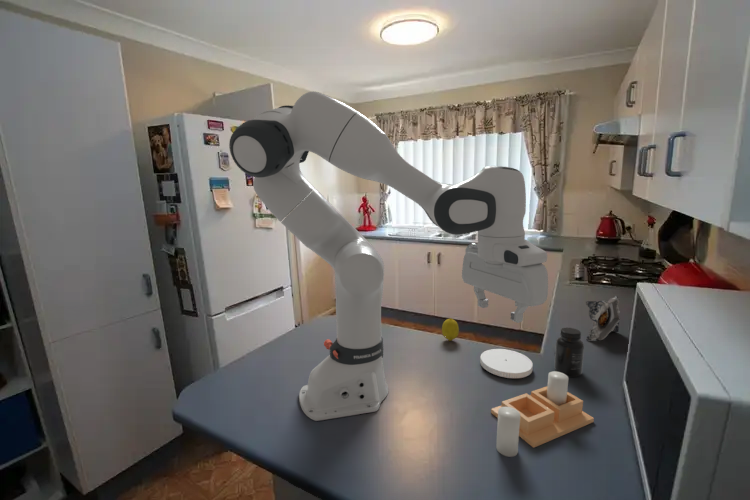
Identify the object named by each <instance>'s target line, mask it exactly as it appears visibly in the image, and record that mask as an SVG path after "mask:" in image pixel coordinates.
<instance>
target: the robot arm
mask: <svg viewBox="0 0 750 500" xmlns="http://www.w3.org/2000/svg"><path fill="white" fill-rule="evenodd" d="M228 144H229V145H228V146H229V152H230V155H231V158H232V160H233V163H235V165H236V166H237V167H238V169H240V171H241V172H243V173H244V174H246V175H248V176H250V177H253V178H254V179H253V183H252V184H253V185H252V186H253V190H254V191H255V194H256V195H257V196H258V198H259V199H260V200H261V202H262V203H263V204H264V206H265V207H266V208H267V209H268V210H269V212H270V213H271V214H272V216H274V217H275V218H276V219H277V220H278V221H279V222H280V223H281V224H282V225H283V226H284V227H285V228H286V229H287V230H288V231H289V232H290V233H291V234H292V235H294V237H296V239H298V240H299V242H301V243H302V244H303V246H305V247H306V248H308V249H309V250H310V251H312V252H313V253H315V254H316V255H318V256H319V257H320V258H321V259H322V260H323V261H325V263H327V264H328V265H330V267H332V269H333V270H334V281H335V282H334V284H335V285H334V286H335V287H334V288H335V319H336V321H335V322H336V325H335V326H336V338H335V340H334V342H332V340H331V339H329V338H328V339H325V340H324V342H323V346H324V347H325V348H326V350H328V351H329V355H327V356H326V357H325V358H324V359H323V360H322V361H321V362H319V363H318V364H317V365H316V366H315V367H314V368H313V369H312V370H311V371H310V373H309V375H308V381H307V384H306V385H305V384H304V385H303V386H302V387H301V389H300V390H299V395H298V400H299V405H300V407H301V410H302V411H303V413H304V414H305V415H306V417H308V418H309V419H311V420H313V421H315V422H317V421H318V422H319V421H324V420H331V419H332V420H333V419H337V418H344V417H350V416H356V415H360V414H361V415H362V414H366V413H374V412H377V411H378V410H379V409H380V407H381V404H382V402H383V401H384V399H385V398H387V396H388V394H389V386H388V384H387V380H386V377H385V371H384V364H383V358H384V338H383V337H382V303H383V302H382V301H383V295H384V293H383V292H384V279H385V278H384V277H385V265H384V261H383V258H382V257H381V255H380V254H379V252H378V251H377V250H376V249H375V247H374V246H373V245H372V244H371V243H370V241H368V239H366V237H364V236H363V235H362V234H361V233H360V231H358V230H357V229H356V227H354V226H353V224H351V223H350V221H349V220H348V219H347V218H346V217H344V216H343V214H341V213H340V212H339V211H338V210H337V209H336V208H335V206H333V204H332V203H330V201H329V200H328V199H327V198H326V197H325V196H324V195H323V194H322V193H321V192H320V191H319V190H318V189H317V188H316V187H315V186H314V185H313V184H312V183H311V182H310V181H309V180H308V179H307V178H306V177H305V175H304V174H303V172H302V171H301V169H300V168H301V167H300V163H304V162H306V160H307V157H308V155H309V153H310V152H311V153H313V154H315V155H317V156H319V157H320V158H322V159H323V160H325V161H326V162H328V163H330V164H331V165H332V166H334V167H336V168H338V169H339V170H342V171H344V172H345V173H348V174H350V175H353V176H355V177H357V178H360V179H362V180H367V181H372V182H376V183H381V184H382V185H385V186H388V187H390V188H392V189H394V190H395V191H397V192H398V193H401V194H402V195H403V196H405V197H407V198H408V199H410V200H411V201H413V202H414V203H416V204H417V205H418V206H420V207H421V209H423V211H424V212H425V214H426V216H427V217H428V219H429V220H430V221H431V222H432V223H433V225H435V226H437V228H440V230H442V231H443V232H445V233H447V234H448V235H449V234H450V235H454V236H461V235H465V234H470V233H471V234H472V233H476V232H477V243H474V242H471V243H469V245H467V246H466V247H465V254H464V256H463V260H462V261H463V262H462V269H461V277H462V278H461V279H462V281H463V283H465V284H467V285H469V286H472V287H473V291H474V294H475V296H476V299H477V306H478V307H479V308H482V309H485V308H488V307H489V301H490V300H489V298H486V297H487V296H486V293H485V291H487V292H489V293H492V294H494V295H498V296H501V297H503V298H506V299H509V300H512V301H514V306H515V307H516V309H515V311H510V321H512V322H515V323H516V324H517V323H522V322H523V320H524V313H525V312H526V311H527V309H528V307H530V308H531V307H537V306H540V305H543V304H544V303H546V301H547V300H548V295H549V273H548V270H547V267H546V266H545V265H544V264H543V263H546V262H547V260H548V252H547V251H545V250H544V249H542V248H541V247H539V246H537V245H535V244H533V243H532V242H530V241H529V240H528V239H525V235H526V233H525V231H526V230H525V227H524V219H525V215H526V211H527V210H526V209H527V204H526V203H527V194H526V193H527V192H526V182H525V178H524V175H523V173H522V172H521V171H520V170H519V169H517V168H513V167H510V166H502V165H497V166H496V165H488V166H484V167H483V168H482V169H481V170H480V171H479V172H476V173H475V174H474V175H472V176H470V177H468V178H466V179H464V180H463V181H460V182H458V183H455V184H450V183H449V184H448V183H443V182H439V181H436V180H435V179H433V178H432V177H430V176H428V175H427V174H426V173H424V172H422V171H421V170H419V169H418V168H417V167H415V166H413V165H411V164H410V163H409V162H407V161H406V160H405V158H404V157H402V155H400V153H399V152H398V151H397V149H396V147H394V144H393V143H392V141H391V140H390V138H389V137H388V135H387V134H386V133H385V132H384V131H383V130H382V129H381V128H380V127H379V125H376V123H374V122H373V121H372V119H371V120H370V118H367V117H366V116H365V115H364V114H362V113H361V112H359V111H357V110H356V109H354V108H352V107H351V106H350V105H347V104H346V103H344V102H342V101H340V100H338V99H335V98H334V97H331V96H328V95H326V94H324V93H322V92H318V91H308V92H306V93H304V94H302V95H301V96H300V97H298V99H297V100H296V101H295V103H294V105H289V104H288V105H281V106H279V107H277V108H273V109H269V110H265V111H263V112H260V114H258V115H257V116H255V117H253V118H251V119H249V120H247V121H244V122H242V123H241V124H239V126H238V127H237V128H236V129H235V130H233V133H232V134H231V136H230V138H229V143H228Z"/></svg>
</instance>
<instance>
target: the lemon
mask: <svg viewBox="0 0 750 500" xmlns="http://www.w3.org/2000/svg"><path fill="white" fill-rule="evenodd" d="M459 330H460V327H459V323H458V322H457V321H456V320H455V319H453V318H452V317H451V318H447V319H446V320H445V321H443V323H442V326H441V333H442V336H443V337H444V338H445V339H446V340H448V341H449V342H450V341H453V340H455V339H457V337H458V335H459V333H460V331H459ZM445 336H446V337H445Z"/></svg>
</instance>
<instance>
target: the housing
mask: <svg viewBox="0 0 750 500" xmlns="http://www.w3.org/2000/svg"><path fill="white" fill-rule="evenodd" d="M547 375H548V376H547V385H546V386H543V387H540V388H538V389H534V390H531V392H530V394H528V393H527V392H525V393H523V394H520V395H517V396H514V397H511V398H509V399H506V400H502V401H501V405H499V406H495V407H492V408H491V409H490V413H491V414H492V415H493V416H494V417H496V418H497V419H498V410H499V408H501V407H511V408H514V409H516V410H517V411H518V412H519V413H520V427H519V438H521V439H522V440H523V441H524V442H526V443H527V444H528V445H530V446H531V447H532V448H533V449H534V448H536V447H539V446H542V445H543V444H545V443H548V442H551V441H553V440H555V439H557V438H560V437H563V436H564V435H567V434H569V433H571V432H573V431H576V430H578V429H581V428H583V427H585V426H587V425H590V424H592V423H594V421H595V420H594V419H595V418H594V417H593V416H591V415H589V414H588V413H586V412H585V411H583V407H584V405H583V404H584V400H583V399H580V398H579V397H577V396H576V395H574V394H572V393H571V392H569V391H568V387H569V386H568V385H569V376H567V375H565V374H564V373H561V372H557V371H556V370H554V371H550V372H548V374H547Z"/></svg>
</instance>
